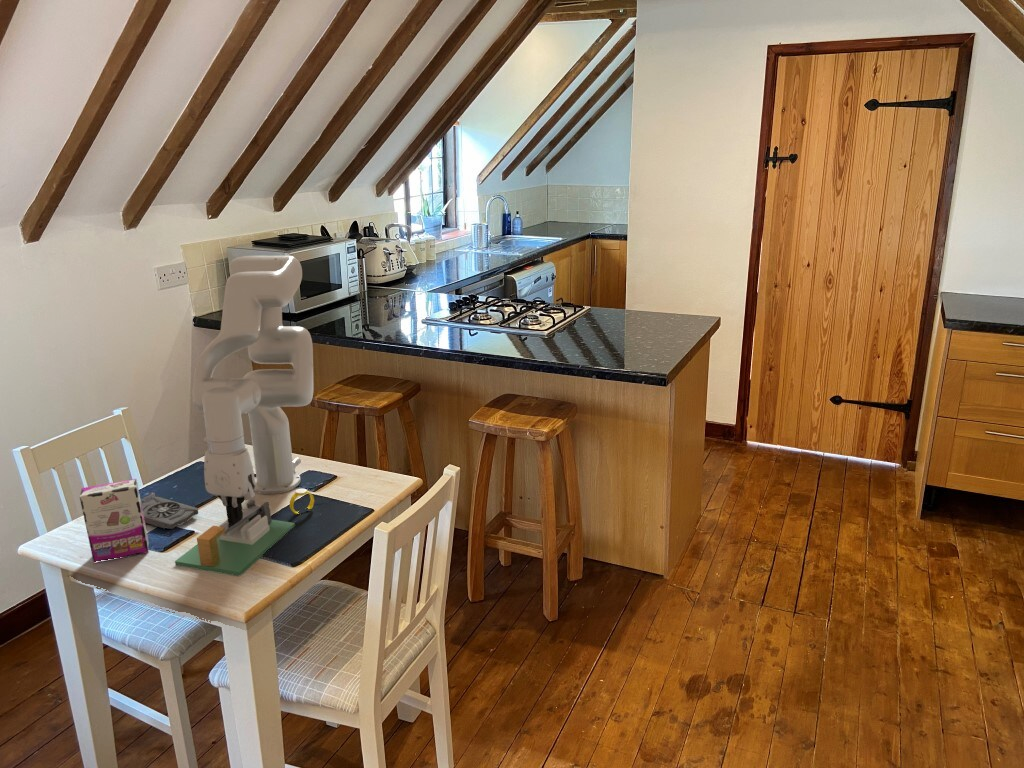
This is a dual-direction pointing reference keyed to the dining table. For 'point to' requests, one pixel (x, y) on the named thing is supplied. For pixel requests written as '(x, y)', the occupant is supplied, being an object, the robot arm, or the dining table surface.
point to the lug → (209, 546)
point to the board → (241, 543)
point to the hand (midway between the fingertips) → (235, 520)
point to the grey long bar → (246, 515)
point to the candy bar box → (114, 520)
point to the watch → (299, 493)
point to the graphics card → (166, 512)
